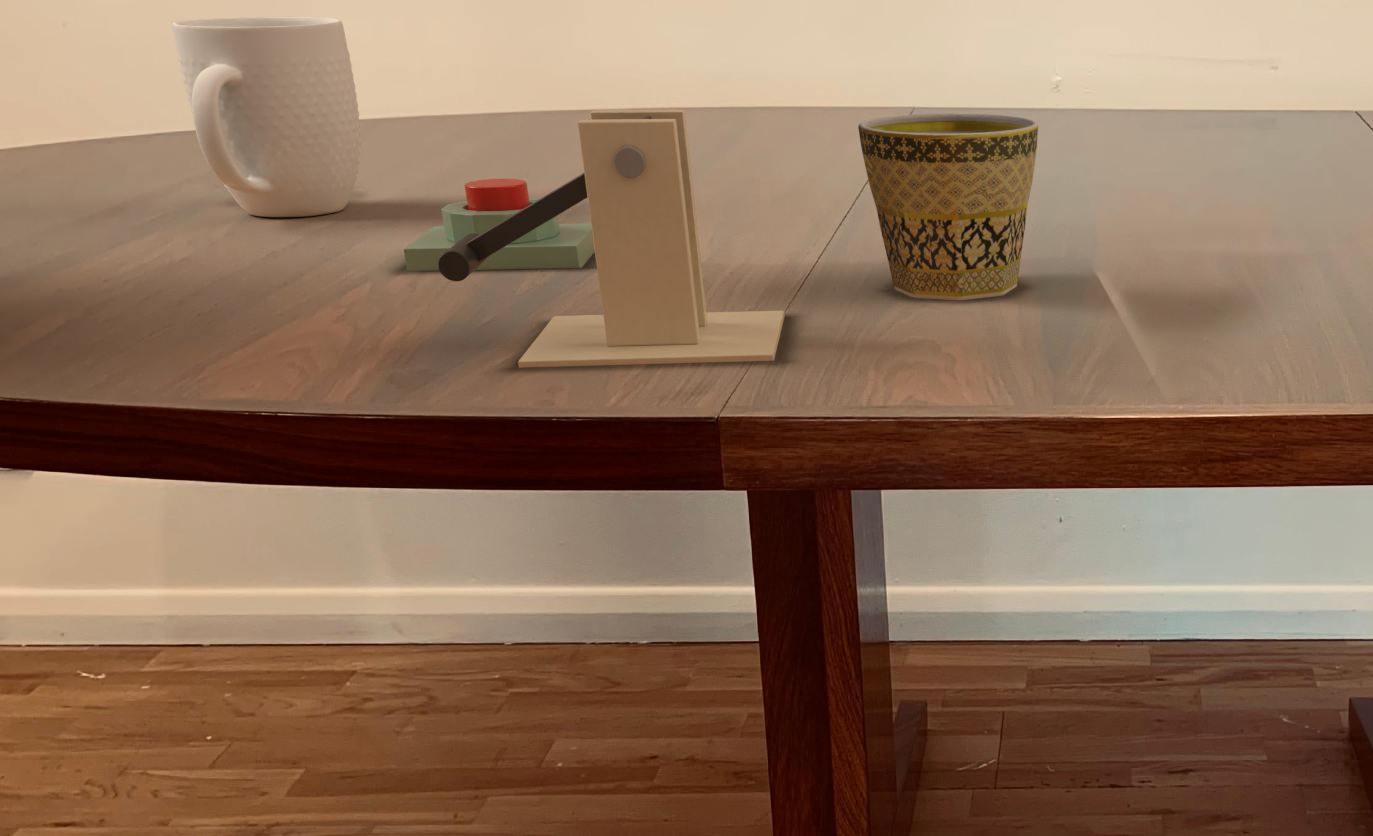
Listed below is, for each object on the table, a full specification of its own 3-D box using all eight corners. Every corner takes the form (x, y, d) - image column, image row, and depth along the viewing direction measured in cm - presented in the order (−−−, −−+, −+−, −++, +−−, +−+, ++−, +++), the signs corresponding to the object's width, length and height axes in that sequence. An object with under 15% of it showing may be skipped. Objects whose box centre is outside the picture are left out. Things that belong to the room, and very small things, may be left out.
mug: (306, 234, 120) (265, 31, 114) (151, 232, 120) (102, 29, 114) (403, 200, 133) (370, 17, 127) (262, 198, 133) (224, 15, 128)
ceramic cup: (1011, 326, 96) (1005, 137, 92) (842, 315, 98) (829, 130, 94) (1077, 281, 107) (1074, 111, 103) (925, 272, 109) (916, 105, 105)
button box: (409, 286, 104) (397, 217, 103) (440, 260, 111) (429, 196, 110) (581, 282, 106) (572, 215, 104) (601, 257, 113) (592, 194, 111)
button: (463, 217, 105) (458, 187, 104) (475, 207, 108) (471, 179, 108) (524, 216, 106) (520, 187, 105) (535, 207, 109) (531, 178, 108)
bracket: (521, 386, 83) (481, 129, 78) (556, 338, 92) (523, 105, 87) (775, 378, 85) (752, 126, 80) (786, 332, 94) (766, 103, 89)
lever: (457, 295, 84) (424, 251, 83) (479, 275, 88) (448, 233, 87) (670, 169, 83) (640, 123, 82) (681, 155, 87) (653, 111, 86)
